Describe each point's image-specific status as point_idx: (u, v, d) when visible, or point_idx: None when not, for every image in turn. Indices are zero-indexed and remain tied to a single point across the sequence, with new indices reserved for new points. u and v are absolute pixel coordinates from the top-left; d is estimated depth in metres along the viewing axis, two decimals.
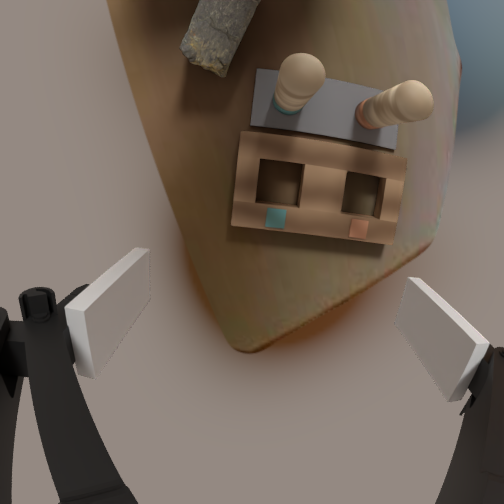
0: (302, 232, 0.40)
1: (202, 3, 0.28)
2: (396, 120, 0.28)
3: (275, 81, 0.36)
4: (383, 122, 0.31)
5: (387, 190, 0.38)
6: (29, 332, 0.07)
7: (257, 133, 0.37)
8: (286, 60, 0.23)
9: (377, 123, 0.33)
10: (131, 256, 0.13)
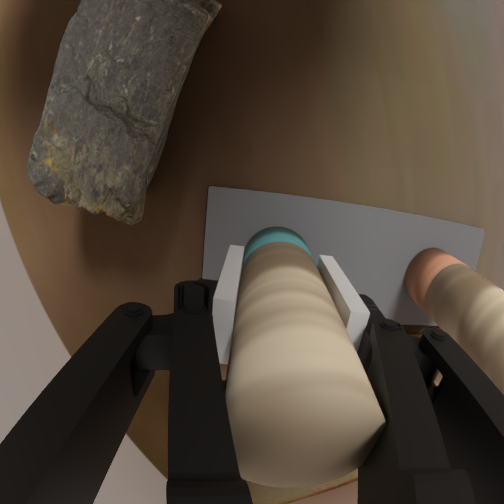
0: None
1: (69, 42, 0.10)
2: None
3: (249, 217, 0.19)
4: None
5: None
6: (179, 321, 0.09)
7: None
8: (241, 419, 0.06)
9: None
10: (234, 253, 0.15)
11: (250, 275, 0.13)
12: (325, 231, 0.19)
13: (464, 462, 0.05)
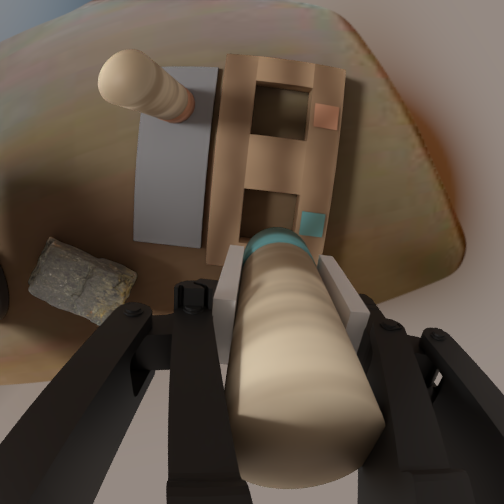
0: (331, 190, 0.31)
1: (58, 304, 0.31)
2: (164, 91, 0.20)
3: (146, 220, 0.34)
4: (175, 99, 0.24)
5: (272, 78, 0.27)
6: (178, 321, 0.09)
7: (208, 245, 0.33)
8: (241, 421, 0.06)
9: (180, 103, 0.25)
10: (234, 253, 0.15)
11: (250, 276, 0.13)
12: (151, 178, 0.33)
13: (464, 462, 0.05)
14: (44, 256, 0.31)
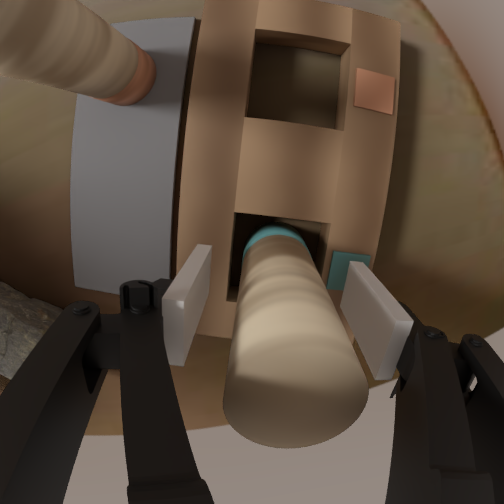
0: (381, 216, 0.18)
1: None
2: (64, 30, 0.07)
3: (89, 258, 0.21)
4: (102, 55, 0.11)
5: (283, 26, 0.14)
6: (126, 321, 0.09)
7: None
8: (244, 375, 0.07)
9: (117, 65, 0.12)
10: (199, 252, 0.15)
11: (251, 263, 0.15)
12: (91, 195, 0.20)
13: (489, 463, 0.05)
14: None
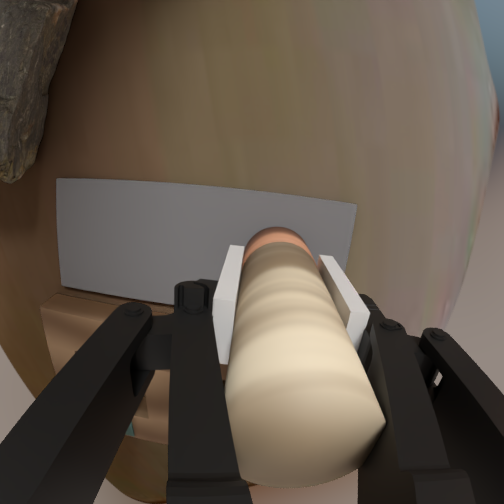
0: (161, 442, 0.22)
1: None
2: None
3: (84, 203, 0.19)
4: None
5: None
6: (178, 321, 0.09)
7: (60, 313, 0.19)
8: None
9: None
10: (234, 253, 0.15)
11: None
12: (147, 212, 0.19)
13: (464, 462, 0.05)
14: (31, 3, 0.10)
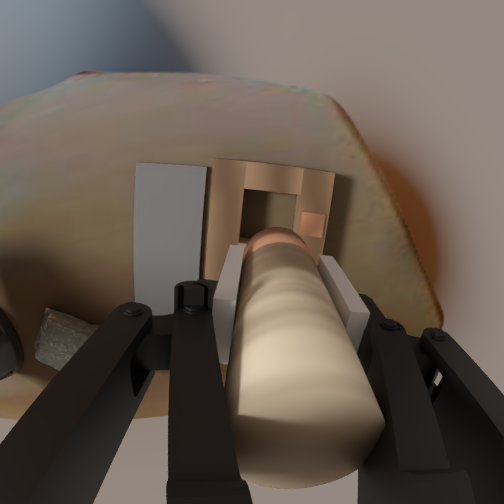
0: None
1: None
2: None
3: None
4: None
5: (260, 186, 0.31)
6: (178, 321, 0.09)
7: None
8: None
9: None
10: (234, 253, 0.15)
11: None
12: (148, 273, 0.36)
13: (464, 462, 0.05)
14: (44, 329, 0.34)
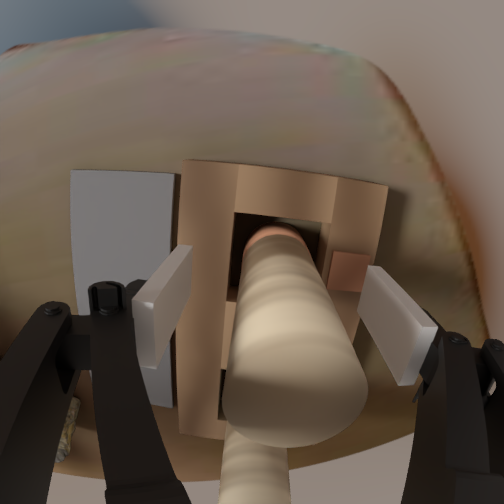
0: None
1: None
2: None
3: None
4: None
5: (263, 208, 0.18)
6: (95, 323, 0.08)
7: (180, 419, 0.23)
8: None
9: None
10: (178, 253, 0.14)
11: None
12: None
13: (503, 465, 0.05)
14: None
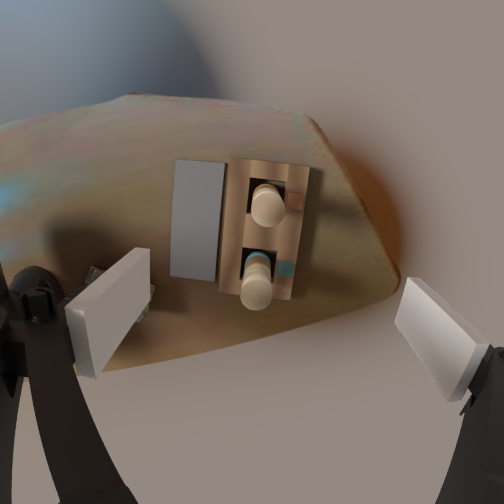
0: (297, 248, 0.50)
1: None
2: None
3: (179, 263, 0.53)
4: None
5: (260, 175, 0.47)
6: (29, 332, 0.07)
7: (220, 281, 0.52)
8: (244, 288, 0.40)
9: None
10: (131, 257, 0.13)
11: (247, 266, 0.47)
12: (181, 237, 0.52)
13: None
14: (91, 280, 0.50)
